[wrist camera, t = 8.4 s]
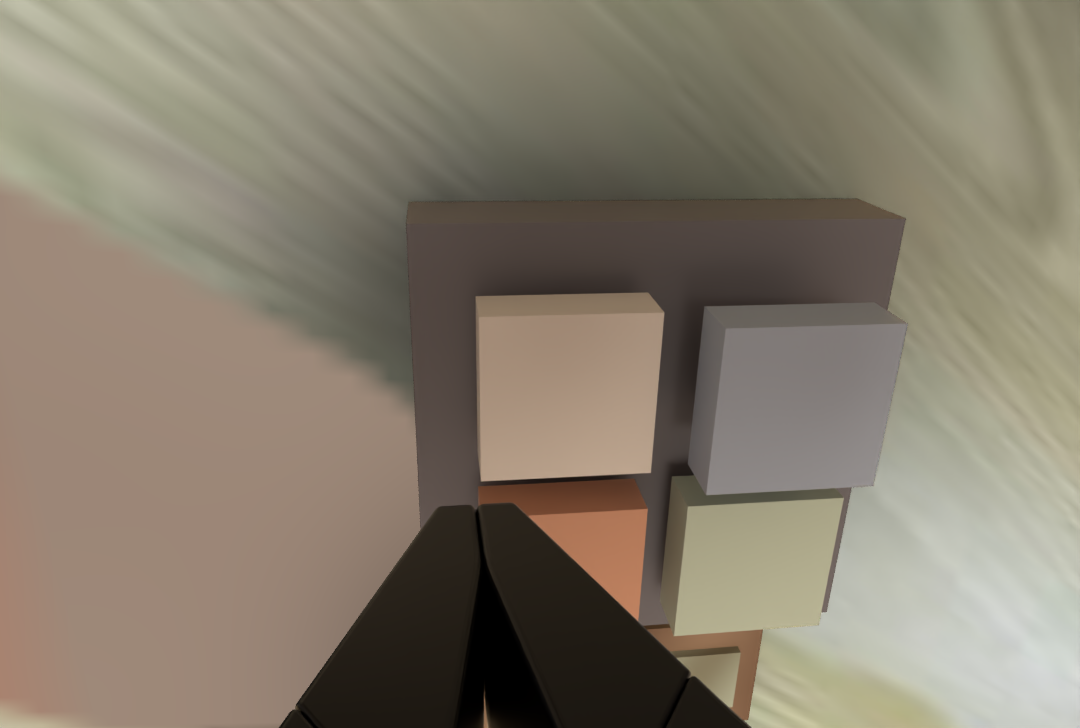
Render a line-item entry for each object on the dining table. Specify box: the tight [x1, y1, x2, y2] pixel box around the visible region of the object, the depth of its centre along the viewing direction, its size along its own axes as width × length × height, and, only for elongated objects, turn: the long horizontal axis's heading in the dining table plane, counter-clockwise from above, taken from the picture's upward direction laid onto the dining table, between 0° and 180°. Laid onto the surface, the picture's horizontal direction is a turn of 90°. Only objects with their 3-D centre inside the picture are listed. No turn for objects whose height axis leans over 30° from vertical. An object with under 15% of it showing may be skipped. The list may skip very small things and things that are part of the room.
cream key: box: [476, 292, 664, 481], centre depth 20 cm, size 4×4×4 cm
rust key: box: [478, 479, 648, 621], centre depth 22 cm, size 4×4×4 cm
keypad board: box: [406, 199, 906, 626], centre depth 22 cm, size 12×12×2 cm
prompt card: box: [484, 624, 763, 728], centre depth 27 cm, size 10×4×1 cm, turn 89°
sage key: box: [660, 475, 844, 636], centre depth 22 cm, size 4×4×4 cm
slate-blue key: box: [688, 302, 908, 495], centre depth 19 cm, size 4×4×4 cm
